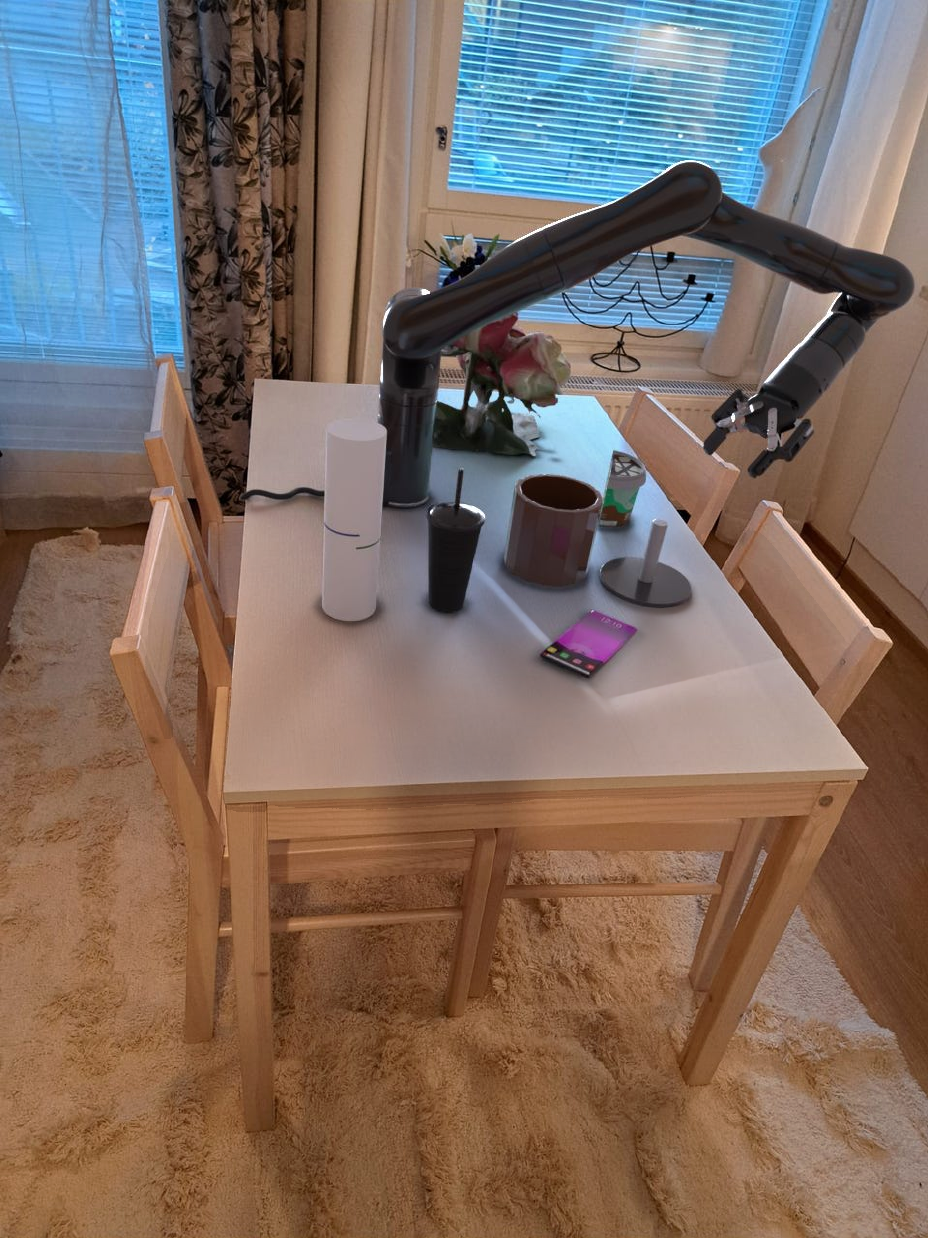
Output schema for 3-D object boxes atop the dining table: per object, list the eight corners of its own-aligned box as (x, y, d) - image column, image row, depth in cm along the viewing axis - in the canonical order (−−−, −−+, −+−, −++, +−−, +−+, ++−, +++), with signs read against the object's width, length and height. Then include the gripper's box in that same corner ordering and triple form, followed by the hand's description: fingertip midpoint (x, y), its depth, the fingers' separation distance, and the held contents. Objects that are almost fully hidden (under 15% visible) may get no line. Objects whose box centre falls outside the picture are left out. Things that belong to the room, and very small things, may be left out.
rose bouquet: (561, 462, 168) (590, 301, 152) (409, 445, 167) (422, 281, 150) (551, 415, 190) (575, 270, 173) (416, 400, 188) (429, 252, 172)
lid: (633, 617, 123) (650, 550, 117) (581, 570, 133) (594, 506, 127) (708, 602, 129) (727, 538, 123) (653, 558, 139) (669, 497, 133)
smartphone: (537, 658, 112) (538, 653, 111) (590, 612, 123) (591, 607, 122) (587, 682, 109) (589, 676, 108) (637, 632, 120) (639, 627, 119)
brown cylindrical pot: (529, 595, 125) (543, 516, 118) (489, 553, 134) (500, 478, 127) (602, 582, 130) (619, 506, 124) (558, 543, 140) (572, 470, 133)
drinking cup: (433, 623, 116) (447, 485, 105) (409, 594, 122) (420, 460, 111) (483, 613, 120) (502, 478, 109) (457, 585, 125) (473, 454, 114)
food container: (634, 539, 144) (647, 483, 138) (597, 532, 144) (609, 476, 139) (636, 508, 154) (649, 455, 149) (601, 501, 155) (613, 448, 149)
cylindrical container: (323, 591, 120) (327, 416, 106) (375, 593, 121) (386, 420, 107) (320, 620, 114) (324, 438, 100) (375, 622, 115) (387, 442, 101)
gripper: (757, 346, 129) (684, 430, 129) (838, 377, 119) (759, 467, 119) (769, 379, 134) (699, 458, 135) (848, 411, 125) (772, 496, 125)
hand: (727, 462), depth 127 cm, fingers open, 8 cm apart
